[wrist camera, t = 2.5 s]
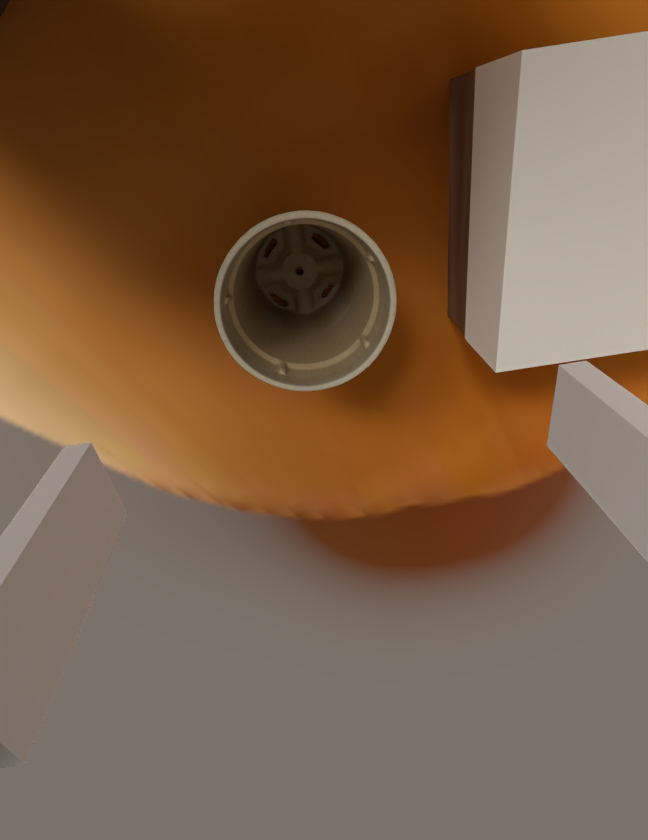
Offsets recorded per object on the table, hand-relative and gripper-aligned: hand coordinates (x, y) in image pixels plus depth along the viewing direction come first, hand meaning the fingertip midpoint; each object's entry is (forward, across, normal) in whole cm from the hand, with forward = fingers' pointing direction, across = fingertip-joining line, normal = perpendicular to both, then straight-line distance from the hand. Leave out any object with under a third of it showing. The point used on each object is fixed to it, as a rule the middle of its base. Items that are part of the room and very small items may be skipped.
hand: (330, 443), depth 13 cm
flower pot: (+21, 0, 0) cm, 21 cm away
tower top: (+16, +17, +2) cm, 23 cm away
